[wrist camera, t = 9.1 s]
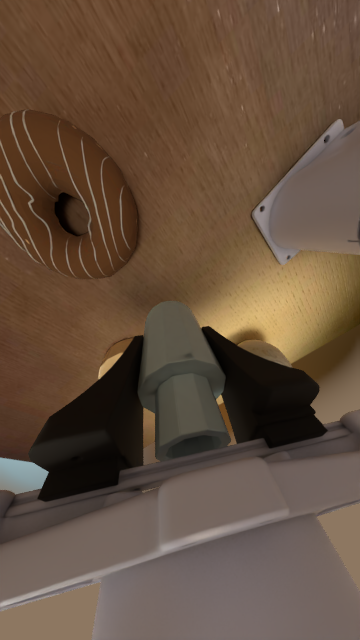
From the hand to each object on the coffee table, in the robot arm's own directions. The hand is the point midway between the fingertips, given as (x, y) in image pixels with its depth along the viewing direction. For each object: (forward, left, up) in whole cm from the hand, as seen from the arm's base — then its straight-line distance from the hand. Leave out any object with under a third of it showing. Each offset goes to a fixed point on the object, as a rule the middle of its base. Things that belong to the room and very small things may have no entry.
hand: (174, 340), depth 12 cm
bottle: (0, 0, -3) cm, 3 cm away
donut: (-1, -12, -9) cm, 15 cm away
